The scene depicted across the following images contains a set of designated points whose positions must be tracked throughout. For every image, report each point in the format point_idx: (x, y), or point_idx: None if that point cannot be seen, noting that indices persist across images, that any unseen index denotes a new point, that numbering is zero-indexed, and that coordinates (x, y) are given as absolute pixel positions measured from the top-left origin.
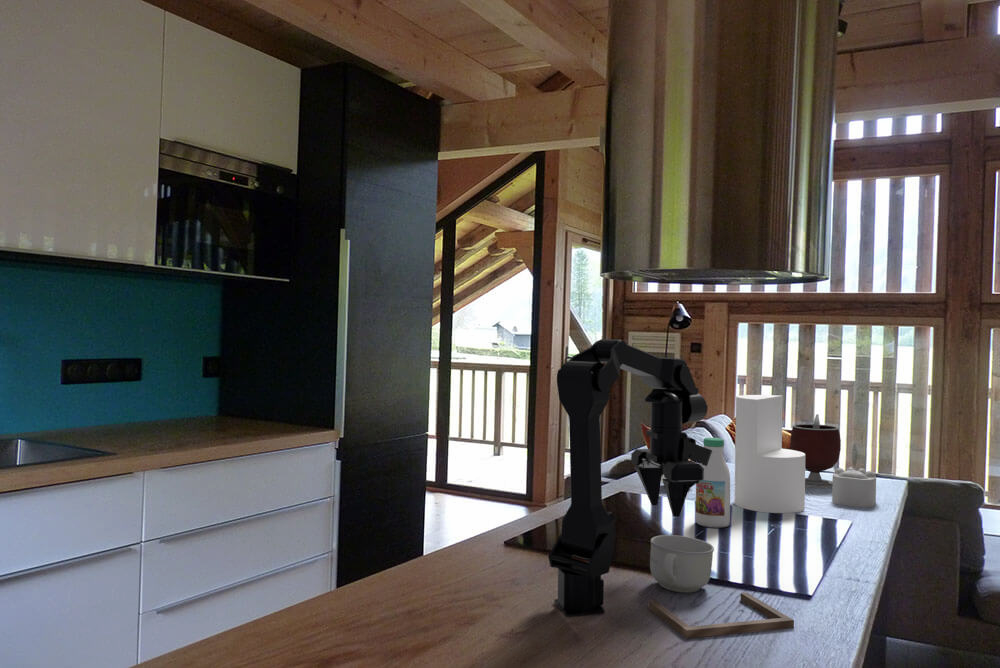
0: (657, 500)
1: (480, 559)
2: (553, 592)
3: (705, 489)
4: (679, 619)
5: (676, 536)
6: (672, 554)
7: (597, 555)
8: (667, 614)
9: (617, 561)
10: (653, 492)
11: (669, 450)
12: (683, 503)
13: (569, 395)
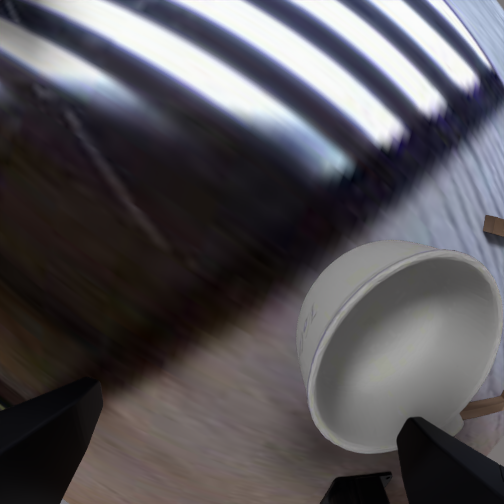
0: (86, 396)
1: (91, 493)
2: (274, 499)
3: None
4: (489, 407)
5: (332, 335)
6: (460, 427)
7: None
8: (471, 416)
9: (117, 338)
10: (63, 454)
11: None
12: (478, 453)
13: None
